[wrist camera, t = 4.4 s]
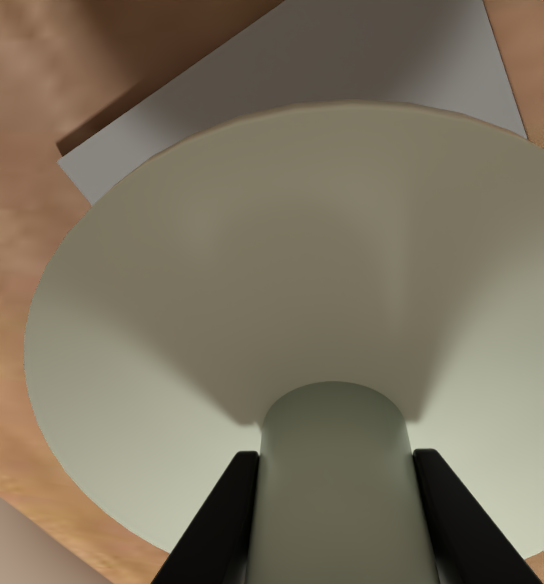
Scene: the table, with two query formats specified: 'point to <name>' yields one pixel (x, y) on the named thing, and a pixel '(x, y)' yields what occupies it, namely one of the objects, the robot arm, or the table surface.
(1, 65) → the table surface
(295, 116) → the lid
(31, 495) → the table surface
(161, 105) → the mat
